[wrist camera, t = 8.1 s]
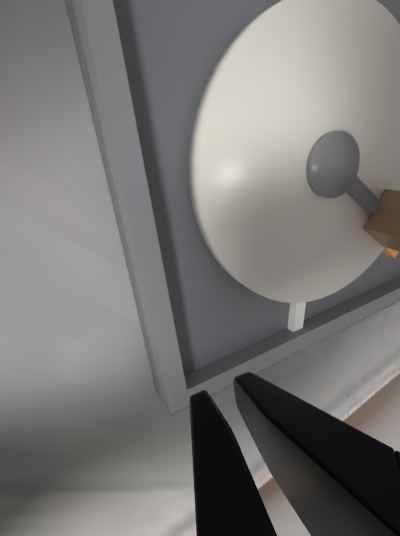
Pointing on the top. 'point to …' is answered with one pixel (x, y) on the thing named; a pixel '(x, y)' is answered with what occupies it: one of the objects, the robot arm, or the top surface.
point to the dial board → (179, 199)
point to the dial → (301, 148)
